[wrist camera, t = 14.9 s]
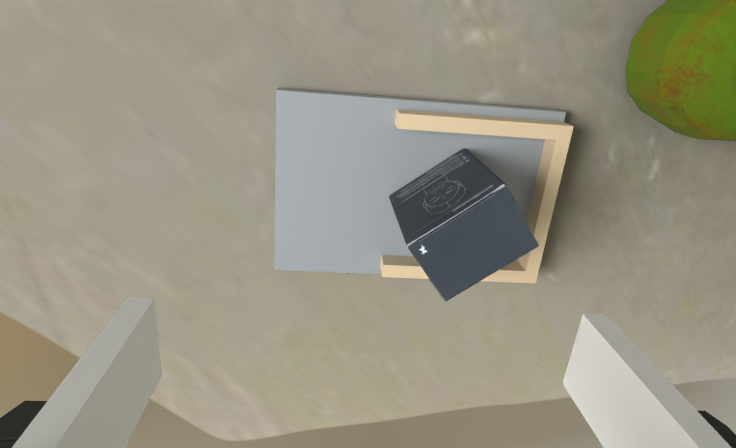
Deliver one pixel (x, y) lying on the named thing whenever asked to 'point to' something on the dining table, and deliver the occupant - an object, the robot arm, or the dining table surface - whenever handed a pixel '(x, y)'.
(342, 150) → the dock
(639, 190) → the dining table surface
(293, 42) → the dining table surface
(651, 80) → the apple
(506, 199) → the box
